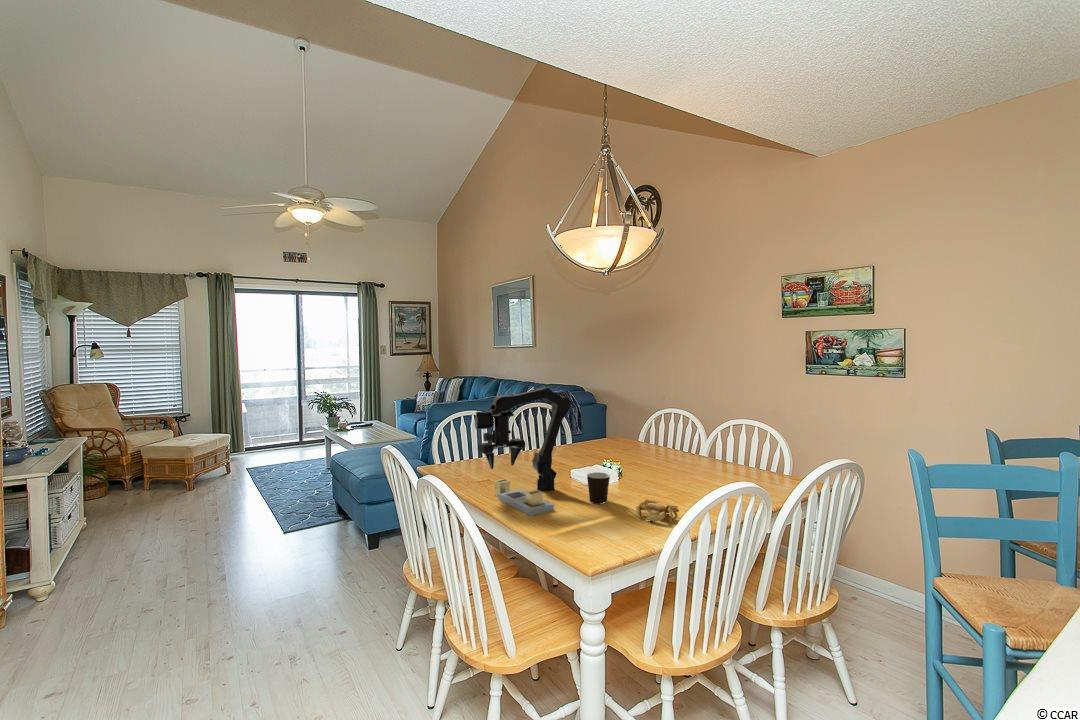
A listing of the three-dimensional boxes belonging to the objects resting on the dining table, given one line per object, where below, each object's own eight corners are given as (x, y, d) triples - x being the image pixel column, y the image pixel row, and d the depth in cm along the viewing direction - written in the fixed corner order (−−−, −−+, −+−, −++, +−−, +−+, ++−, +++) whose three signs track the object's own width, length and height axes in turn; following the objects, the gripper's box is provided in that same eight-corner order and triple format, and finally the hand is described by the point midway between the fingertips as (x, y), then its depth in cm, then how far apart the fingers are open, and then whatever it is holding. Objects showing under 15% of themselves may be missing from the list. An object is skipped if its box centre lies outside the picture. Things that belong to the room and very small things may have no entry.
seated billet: (535, 506, 183) (535, 489, 183) (542, 509, 180) (542, 492, 179) (525, 508, 181) (525, 491, 181) (532, 511, 177) (532, 494, 177)
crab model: (626, 516, 176) (626, 501, 176) (649, 508, 184) (649, 493, 184) (662, 529, 164) (662, 512, 164) (685, 520, 172) (685, 504, 172)
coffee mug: (593, 496, 198) (593, 471, 197) (613, 500, 193) (613, 474, 192) (578, 504, 188) (578, 477, 188) (598, 508, 183) (599, 481, 183)
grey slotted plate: (498, 501, 191) (498, 493, 191) (520, 497, 197) (520, 489, 197) (530, 518, 173) (530, 510, 173) (553, 512, 179) (553, 504, 179)
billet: (504, 493, 202) (504, 478, 202) (509, 496, 198) (509, 480, 198) (494, 495, 199) (494, 480, 199) (500, 498, 196) (500, 482, 195)
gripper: (511, 422, 210) (511, 459, 210) (470, 427, 199) (471, 466, 200) (525, 426, 200) (526, 465, 201) (484, 431, 190) (484, 472, 191)
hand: (502, 467), depth 198 cm, fingers open, 9 cm apart
